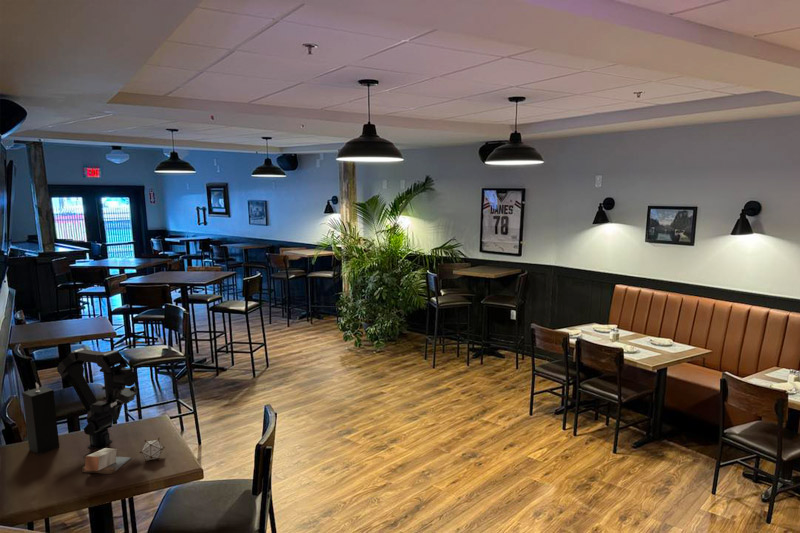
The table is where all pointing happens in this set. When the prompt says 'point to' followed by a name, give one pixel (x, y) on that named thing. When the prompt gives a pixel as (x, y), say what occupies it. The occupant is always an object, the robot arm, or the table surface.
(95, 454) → the marked block
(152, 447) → the game die
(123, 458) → the mat
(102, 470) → the stop rail
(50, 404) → the tall black block
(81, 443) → the table surface
